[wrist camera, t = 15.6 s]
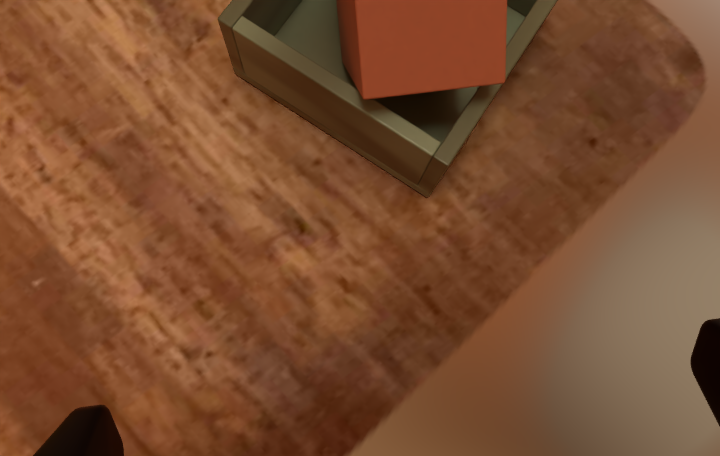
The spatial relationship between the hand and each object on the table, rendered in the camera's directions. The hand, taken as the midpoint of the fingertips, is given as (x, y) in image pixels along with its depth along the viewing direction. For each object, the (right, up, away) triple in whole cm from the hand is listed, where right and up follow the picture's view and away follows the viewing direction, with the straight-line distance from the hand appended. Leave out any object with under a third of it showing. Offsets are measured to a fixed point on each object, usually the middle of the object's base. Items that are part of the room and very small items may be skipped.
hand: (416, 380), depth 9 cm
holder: (0, +10, +16) cm, 19 cm away
